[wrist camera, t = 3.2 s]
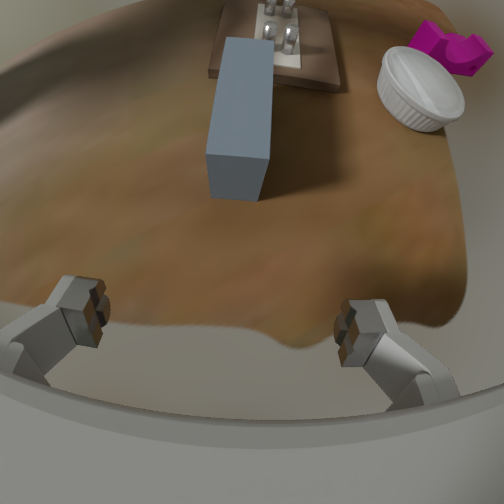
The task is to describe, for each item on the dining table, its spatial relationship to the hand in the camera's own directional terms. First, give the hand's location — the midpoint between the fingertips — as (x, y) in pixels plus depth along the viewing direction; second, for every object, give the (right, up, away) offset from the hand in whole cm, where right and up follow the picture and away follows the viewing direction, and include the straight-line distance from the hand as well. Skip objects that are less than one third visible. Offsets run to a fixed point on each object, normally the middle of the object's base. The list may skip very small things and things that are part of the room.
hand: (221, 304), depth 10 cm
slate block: (0, +12, +17) cm, 21 cm away
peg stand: (+4, +28, +20) cm, 35 cm away
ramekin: (+20, +20, +21) cm, 35 cm away
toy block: (+31, +32, +24) cm, 51 cm away
